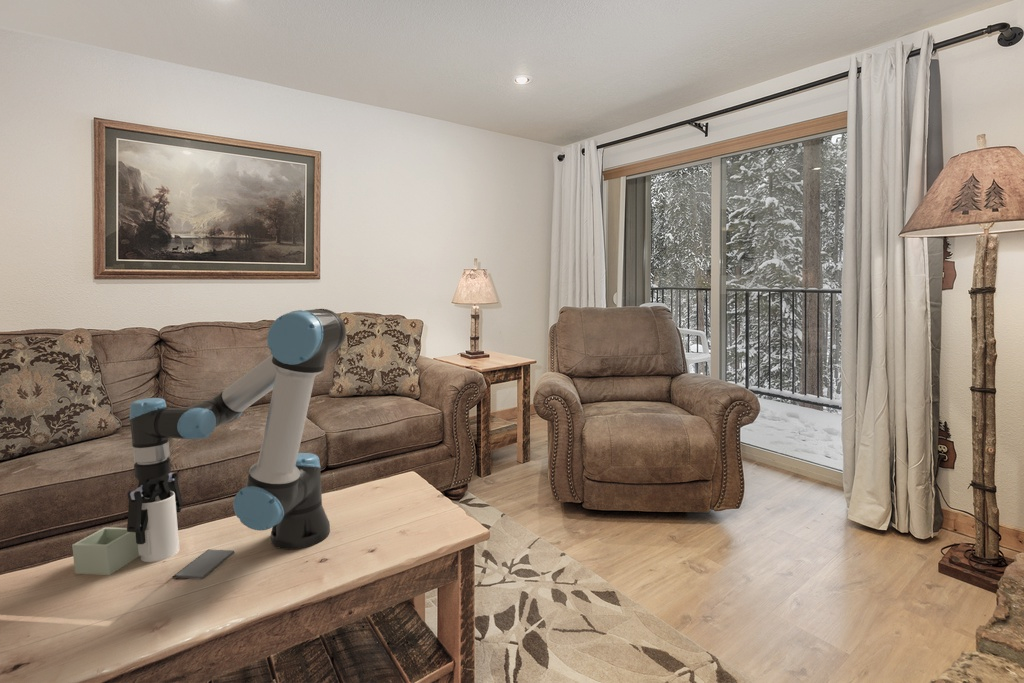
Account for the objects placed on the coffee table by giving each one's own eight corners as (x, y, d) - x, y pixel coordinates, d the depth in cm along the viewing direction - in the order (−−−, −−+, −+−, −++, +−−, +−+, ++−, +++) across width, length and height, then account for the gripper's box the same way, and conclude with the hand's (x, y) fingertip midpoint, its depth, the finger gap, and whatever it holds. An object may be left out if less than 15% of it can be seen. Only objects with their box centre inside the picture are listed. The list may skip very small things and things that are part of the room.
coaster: (234, 552, 135) (234, 550, 135) (202, 578, 123) (202, 576, 123) (191, 550, 136) (191, 548, 136) (155, 576, 124) (155, 574, 124)
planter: (140, 558, 132) (137, 528, 131) (110, 578, 123) (106, 546, 123) (108, 556, 133) (105, 527, 132) (75, 576, 124) (72, 544, 123)
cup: (160, 566, 128) (154, 504, 126) (132, 563, 130) (127, 502, 128) (187, 550, 136) (182, 491, 134) (161, 546, 138) (156, 489, 136)
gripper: (169, 446, 141) (175, 526, 144) (101, 474, 120) (110, 567, 123) (195, 447, 140) (200, 527, 143) (131, 475, 120) (139, 568, 122)
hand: (158, 545), depth 133 cm, fingers closed on cup, 8 cm apart
